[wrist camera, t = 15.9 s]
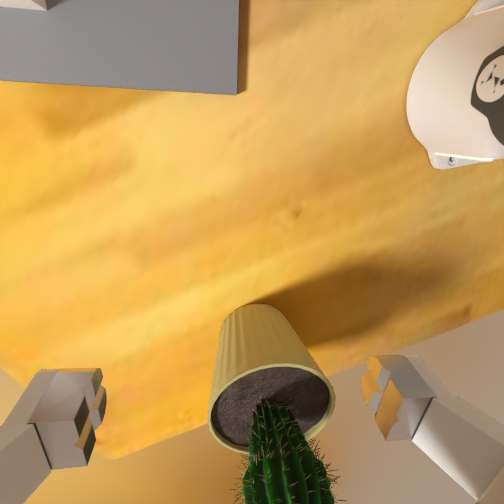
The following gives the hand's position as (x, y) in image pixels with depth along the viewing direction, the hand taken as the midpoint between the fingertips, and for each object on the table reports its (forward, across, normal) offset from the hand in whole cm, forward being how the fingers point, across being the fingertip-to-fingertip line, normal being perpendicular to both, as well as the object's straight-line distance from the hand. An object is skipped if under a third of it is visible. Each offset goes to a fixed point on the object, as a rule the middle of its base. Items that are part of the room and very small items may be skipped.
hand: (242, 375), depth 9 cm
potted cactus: (+31, -6, +26) cm, 41 cm away
